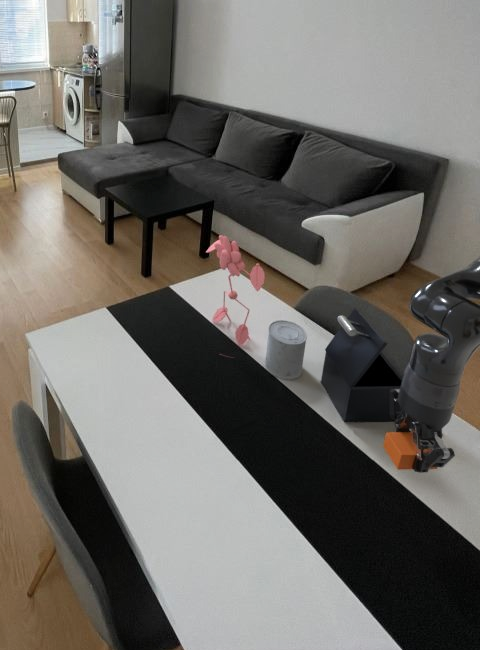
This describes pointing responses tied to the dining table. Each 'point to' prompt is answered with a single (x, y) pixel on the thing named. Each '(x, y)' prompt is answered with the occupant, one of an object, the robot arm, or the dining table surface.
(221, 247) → the figurine
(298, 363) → the grey tin can
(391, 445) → the block
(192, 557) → the dining table surface
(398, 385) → the bin
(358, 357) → the bin lid
